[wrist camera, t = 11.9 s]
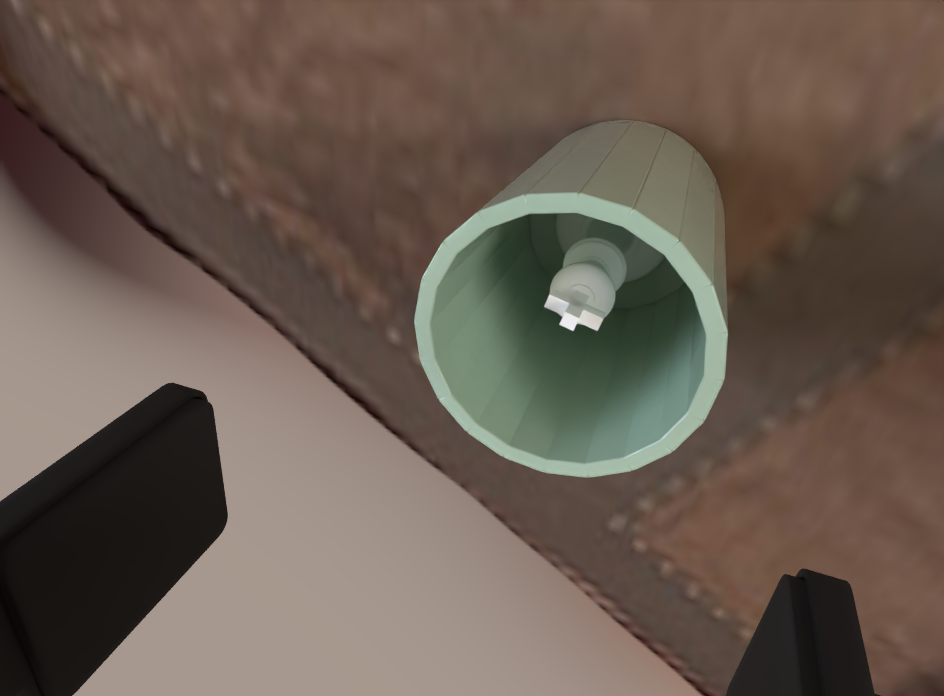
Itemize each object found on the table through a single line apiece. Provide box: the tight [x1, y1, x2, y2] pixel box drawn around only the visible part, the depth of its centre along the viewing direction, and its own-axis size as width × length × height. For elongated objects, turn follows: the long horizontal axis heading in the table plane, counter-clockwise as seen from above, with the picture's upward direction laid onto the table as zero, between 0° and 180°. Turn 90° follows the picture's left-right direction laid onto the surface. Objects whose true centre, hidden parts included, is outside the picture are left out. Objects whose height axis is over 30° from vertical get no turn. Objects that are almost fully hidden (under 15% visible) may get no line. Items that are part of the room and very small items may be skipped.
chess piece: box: [544, 213, 666, 331], centre depth 22 cm, size 5×5×10 cm
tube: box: [414, 120, 728, 477], centre depth 22 cm, size 8×8×12 cm
